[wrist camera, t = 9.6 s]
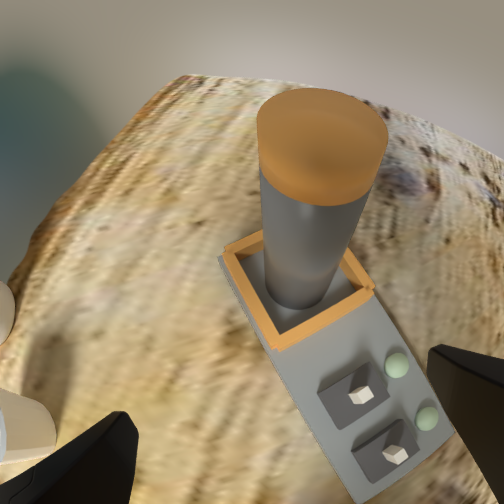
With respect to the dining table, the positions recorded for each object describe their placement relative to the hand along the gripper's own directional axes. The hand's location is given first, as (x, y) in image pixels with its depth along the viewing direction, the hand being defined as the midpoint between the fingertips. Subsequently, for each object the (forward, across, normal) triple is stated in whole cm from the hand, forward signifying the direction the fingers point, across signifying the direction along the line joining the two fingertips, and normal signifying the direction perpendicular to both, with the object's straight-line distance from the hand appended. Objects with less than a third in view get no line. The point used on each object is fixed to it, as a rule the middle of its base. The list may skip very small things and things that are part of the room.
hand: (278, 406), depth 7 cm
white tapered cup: (+8, +23, +9) cm, 26 cm away
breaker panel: (+12, -4, +7) cm, 14 cm away
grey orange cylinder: (+15, -2, +2) cm, 15 cm away
